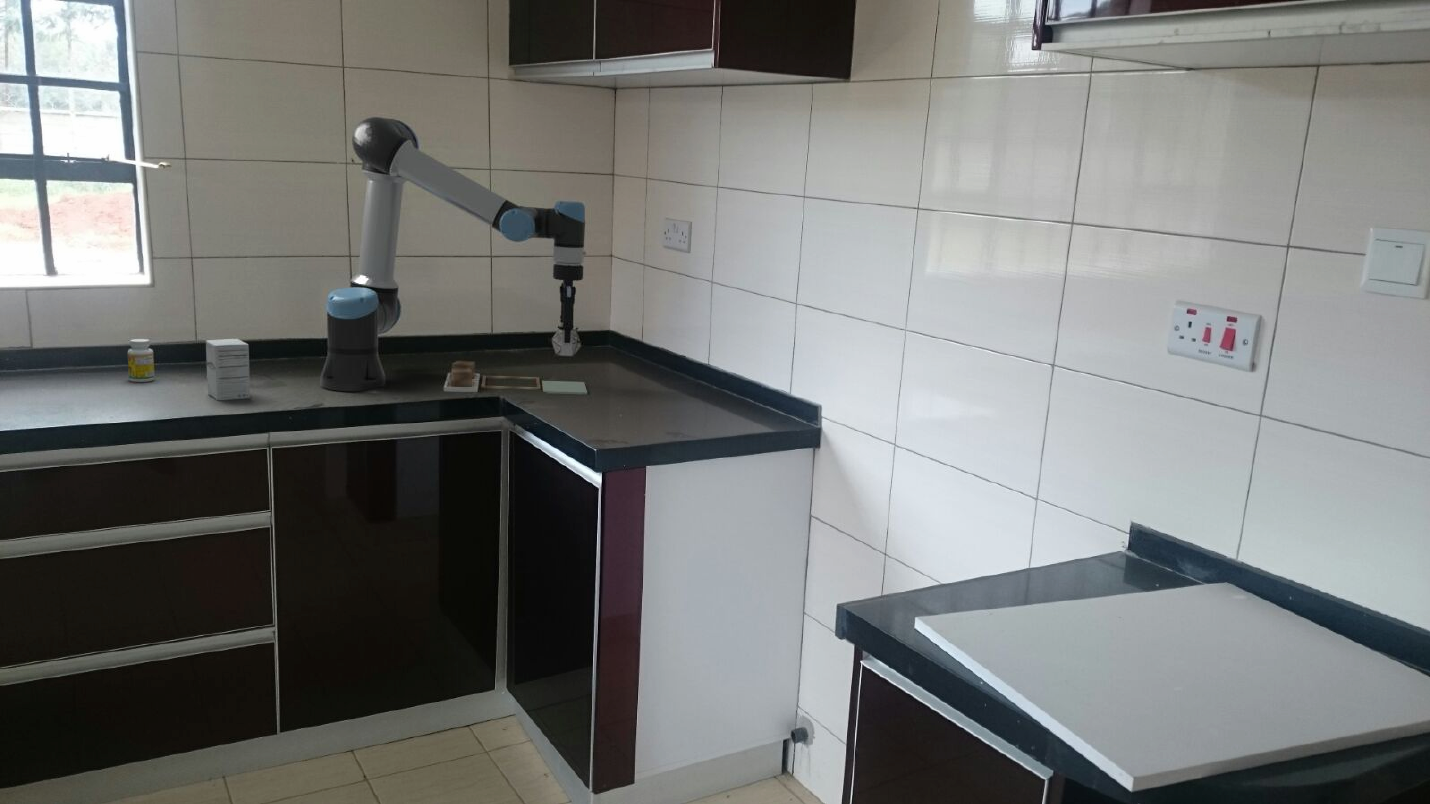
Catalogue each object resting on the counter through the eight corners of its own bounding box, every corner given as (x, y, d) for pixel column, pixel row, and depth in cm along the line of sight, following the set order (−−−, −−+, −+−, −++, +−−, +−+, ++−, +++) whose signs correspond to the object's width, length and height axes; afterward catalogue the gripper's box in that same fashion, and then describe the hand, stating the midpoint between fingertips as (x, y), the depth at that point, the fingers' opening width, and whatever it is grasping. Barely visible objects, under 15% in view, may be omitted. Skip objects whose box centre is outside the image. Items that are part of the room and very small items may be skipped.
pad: (543, 393, 267) (543, 391, 266) (541, 383, 279) (541, 380, 279) (587, 394, 269) (587, 392, 269) (583, 384, 281) (584, 381, 281)
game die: (571, 371, 274) (594, 340, 275) (564, 365, 266) (588, 333, 267) (544, 351, 276) (568, 320, 276) (536, 344, 267) (561, 313, 268)
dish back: (446, 385, 269) (446, 379, 268) (448, 378, 276) (448, 372, 276) (478, 386, 270) (478, 379, 270) (479, 379, 278) (479, 373, 278)
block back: (451, 381, 271) (452, 363, 270) (457, 377, 276) (457, 360, 275) (469, 382, 271) (469, 365, 270) (474, 379, 275) (474, 362, 274)
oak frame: (481, 390, 266) (481, 386, 265) (482, 379, 279) (483, 375, 278) (540, 391, 268) (540, 388, 268) (539, 381, 281) (539, 377, 281)
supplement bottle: (154, 382, 251) (152, 342, 249) (128, 382, 249) (126, 342, 247) (154, 377, 256) (152, 338, 254) (129, 378, 253) (126, 338, 251)
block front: (453, 390, 261) (453, 372, 260) (451, 386, 265) (451, 368, 264) (471, 390, 262) (472, 372, 261) (469, 386, 267) (469, 368, 266)
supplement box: (206, 394, 243) (204, 339, 240) (240, 391, 247) (239, 338, 245) (216, 401, 237) (214, 345, 234) (251, 398, 242) (249, 343, 239)
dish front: (443, 393, 259) (443, 387, 259) (445, 386, 267) (445, 380, 267) (477, 394, 261) (477, 388, 260) (478, 387, 268) (478, 381, 268)
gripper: (586, 268, 257) (583, 360, 262) (581, 260, 278) (578, 345, 283) (554, 267, 256) (552, 359, 261) (552, 259, 277) (549, 344, 282)
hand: (565, 351), depth 272 cm, fingers closed on game die, 9 cm apart
